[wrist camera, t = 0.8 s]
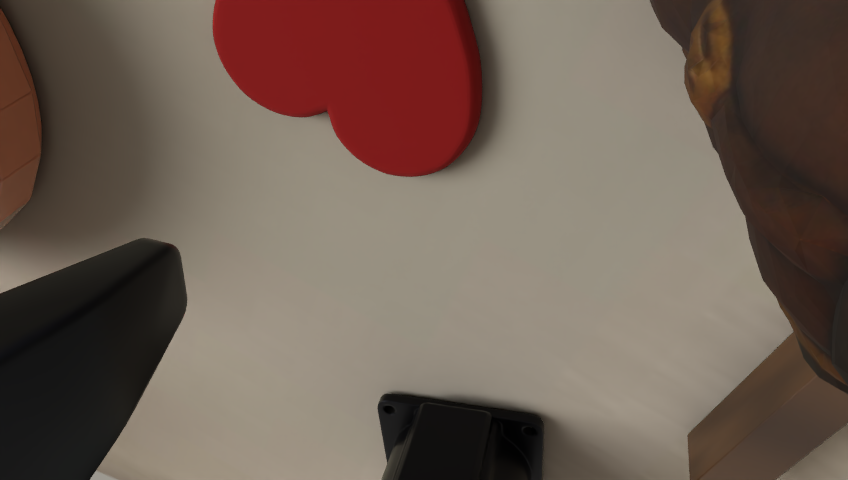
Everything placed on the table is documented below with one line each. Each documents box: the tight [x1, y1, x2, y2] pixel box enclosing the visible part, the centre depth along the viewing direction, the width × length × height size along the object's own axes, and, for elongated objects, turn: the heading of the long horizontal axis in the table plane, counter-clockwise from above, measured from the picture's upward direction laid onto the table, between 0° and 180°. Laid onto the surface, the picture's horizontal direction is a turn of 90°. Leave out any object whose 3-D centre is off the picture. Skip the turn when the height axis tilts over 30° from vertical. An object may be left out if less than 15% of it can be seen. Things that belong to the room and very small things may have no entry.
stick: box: [688, 332, 848, 480], centre depth 22 cm, size 7×2×2 cm, turn 161°
